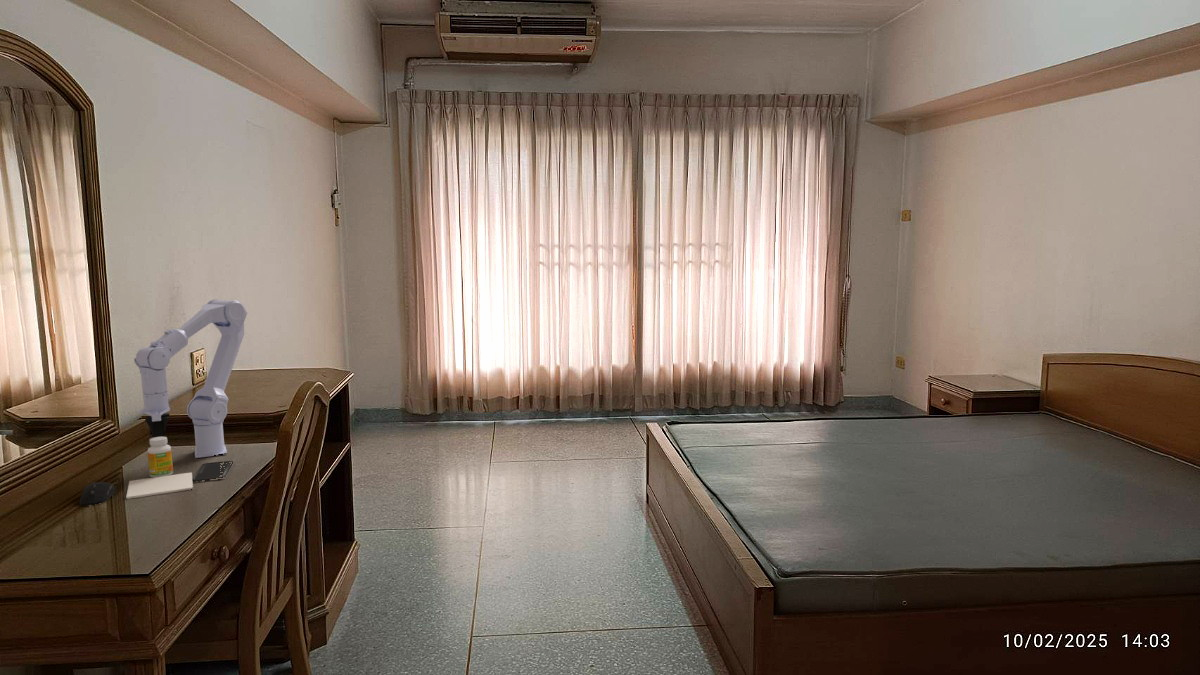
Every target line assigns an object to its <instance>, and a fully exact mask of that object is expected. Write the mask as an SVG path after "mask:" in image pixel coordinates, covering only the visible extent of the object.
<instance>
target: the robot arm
mask: <svg viewBox="0 0 1200 675" xmlns="http://www.w3.org/2000/svg"><path fill="white" fill-rule="evenodd" d="M247 315H248V312H247V310H246V307H245V306H244V304H243V303H242V302H241V301H239V300H234V299H233V300H222V299H210V300H209V301H208V302H207V303H205V304H204V305H202V306H201V309H200V310H199V311H198V312H197V313H195V314H194V315H193V316H192V317H191V318H190V319H189V320H187V321H186V322H185V323H184V324H183V325H182V326H180V328H171V329H166V330H165V331H164V332H163V333H164V334H162V336H160V337H159V338H158V339H156V340H154V341H153V340H152V341H151V342H150V345H149V346H144V347H142V348H140V349H139V350H138V351H137V353H136V356H135V358H133V362H134V364H135V365H136V367H138V369H139V374H140V379H141V389H142V390H141V391H142V400H143V409H139V411H138V412H139V414H145V415H147V416H145V418H144V421H145V422H146V424H147V426H148V427H149V429H150V432H151V436H152V438H155V437H166V430H167V429H166V428H167V425H168V422H169V420H170V413H169V412H170V410H171V407H170V404H169V392H168V384H167V383H168V382H167V381H168V380H167V373H166V370H167V369H166V368H167V367H168V366H169V365H170V361H171V359H172V357H174V356H175V355H177V353H179V352H180V351H181V350H183V349H184V348H185V347H187V345H189V344H188V343H189V338H191V337H192V336H194V335H195V334H197V333H198V332H199V331H201V330H202V329H204V328H205V327H207V326H208V325H210V324H213V325H214V326H215V327H216V328H217V330H218V331H219V332H220V334H221V337H220V340H219V342H218V346H217V347H216V350H215V354H214V355H213V356H214V357H213V359H212V362H211V365H210V367H209V370H208V373H207V376H206V379H205V382H204V385H203V386H202V387H201V388H200V389H198V390H197V391H196V392H195V394H194V396H193V398H192V399H191V400H190V401H189V402H188V404H187V407H186V413H187V416H188V417H189V418H190V419H191V420H192V424H193V429H194V439H195V440H194V441H195V448H194V458H195V459H198V458H207V457H214V455H216V456H219V455H218V454H223V455H225V454H224V453H227V454H228V451H227V447H226V444H225V439H224V438H225V437H224V425H223V423H224V420H225V419H226V417H227V415H228V403H229V400H230V399H229V397H228V396H227V394H226V393H225V391H226V387H227V384H228V381H229V379H230V376H231V374H232V370H233V368H234V365H235V362H236V358H237V356H238V354H239V351H240V350H239V349H240V348H241V344H242V342H243V339H244V335H245V321H246V317H247Z"/></svg>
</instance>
